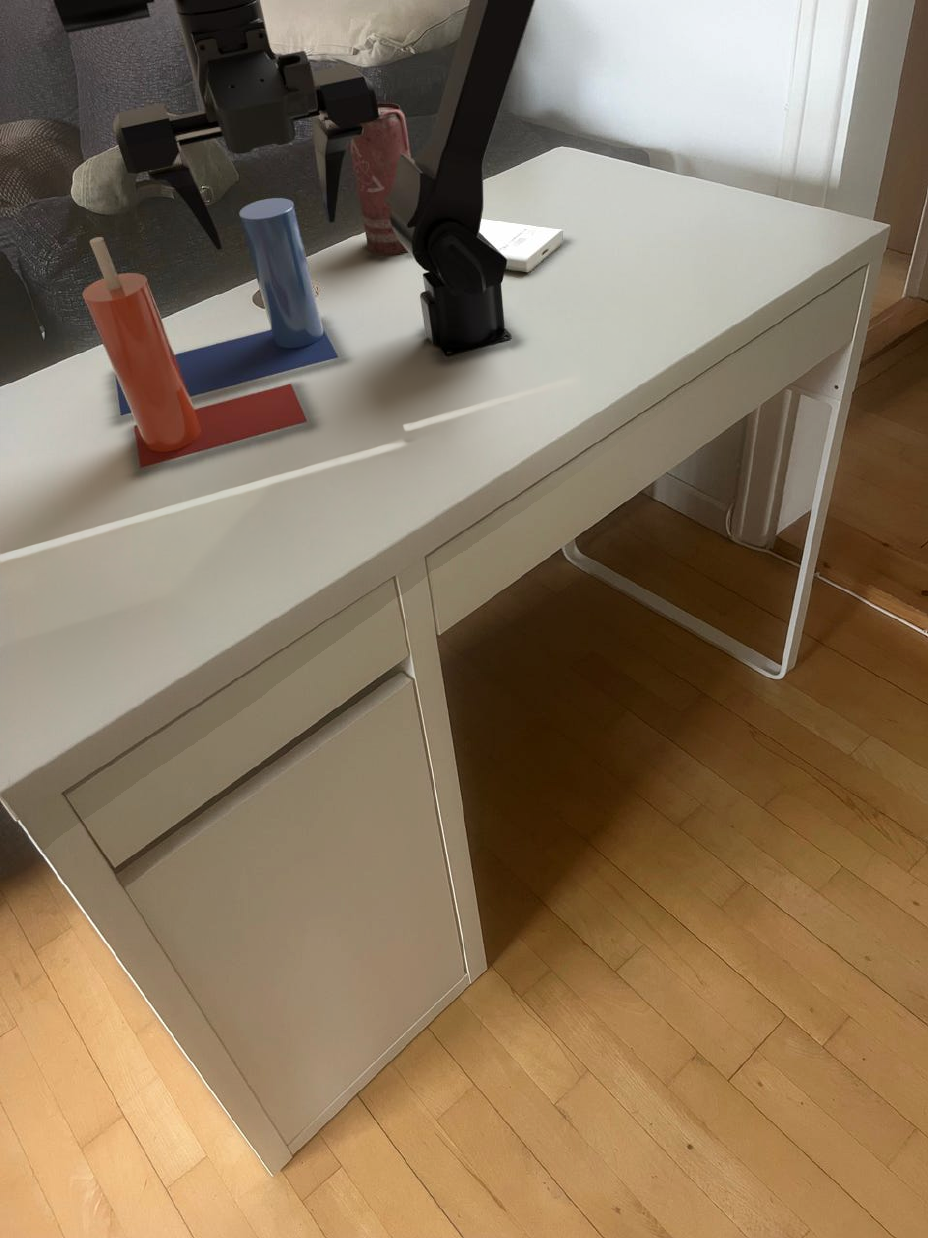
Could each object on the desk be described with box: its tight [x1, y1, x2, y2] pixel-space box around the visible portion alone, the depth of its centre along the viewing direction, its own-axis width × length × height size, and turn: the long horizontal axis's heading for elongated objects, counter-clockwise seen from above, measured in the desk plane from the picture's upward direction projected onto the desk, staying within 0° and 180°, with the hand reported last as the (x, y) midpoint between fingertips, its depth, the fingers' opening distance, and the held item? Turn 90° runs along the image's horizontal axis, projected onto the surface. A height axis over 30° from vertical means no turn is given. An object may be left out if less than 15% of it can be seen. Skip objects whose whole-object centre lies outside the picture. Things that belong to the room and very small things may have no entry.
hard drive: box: [479, 218, 564, 273], centre depth 97 cm, size 2×8×12 cm
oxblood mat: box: [133, 383, 308, 468], centre depth 77 cm, size 14×7×1 cm, turn 109°
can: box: [348, 102, 412, 257], centre depth 96 cm, size 6×6×14 cm
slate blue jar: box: [238, 197, 324, 348], centre depth 82 cm, size 5×5×12 cm
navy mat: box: [115, 328, 339, 416], centre depth 84 cm, size 20×9×1 cm, turn 109°
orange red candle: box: [82, 236, 201, 452], centre depth 70 cm, size 5×5×16 cm
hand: (275, 234), depth 72 cm, fingers open, 9 cm apart
